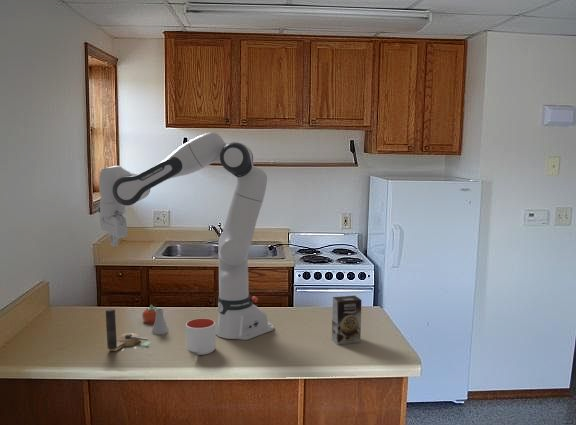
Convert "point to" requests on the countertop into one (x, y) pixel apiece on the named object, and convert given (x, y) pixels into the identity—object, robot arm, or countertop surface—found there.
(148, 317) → the tomato
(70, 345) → the countertop surface
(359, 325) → the coffee box
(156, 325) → the flask
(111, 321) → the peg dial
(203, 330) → the cup
